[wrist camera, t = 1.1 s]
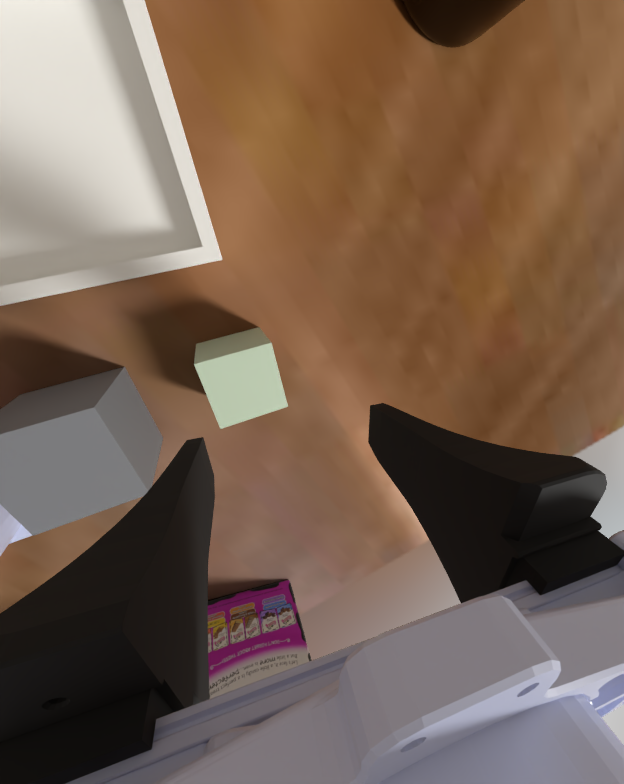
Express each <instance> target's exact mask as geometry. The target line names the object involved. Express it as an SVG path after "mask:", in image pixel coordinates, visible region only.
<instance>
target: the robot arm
mask: <svg viewBox="0 0 624 784" xmlns="http://www.w3.org/2000/svg"><path fill="white" fill-rule="evenodd" d="M368 442H369V444H370V446H371V448H372V450H373V452H374V454H375V456H376V458H377V460H378V461H379V463H380V464H381V466H382V467H383V468H384V470H385V471H386V473H387V474H388V475H389V477H390V478H391V480H392V481H393V482H394V484H395V485H396V486H397V488H398V489H399V491H400V492H401V493H402V495H403V496H404V497H405V499H406V500H407V502H408V503H409V505H410V506H411V508H412V509H413V511H414V513H415V515H416V516H417V518H418V520H419V522H420V523H421V525H422V527H423V529H424V530H425V532H426V534H427V536H428V538H429V540H430V541H431V543H432V545H433V547H434V549H435V551H436V553H437V555H438V557H439V558H440V561H441V562H442V564H443V566H444V568H445V570H446V572H447V574H448V576H449V578H450V581H451V583H452V585H453V587H454V589H455V591H456V593H457V595H458V598H459V600H460V602H461V604H458V605H456V606H453V607H450V608H448V609H445V610H442V611H440V612H437V613H434V614H432V615H429V616H426V617H424V618H421V619H418V620H416V621H413V622H410V623H408V624H405V625H402V626H400V627H397V628H395V629H392V630H389V631H386V632H384V633H382V634H380V635H378V636H376V637H373V638H371V639H368V640H365V641H363V642H360V643H357V644H355V645H352V646H349V647H347V648H344V649H341V650H339V651H336V652H333V653H331V654H328V655H326V656H323V657H320V658H317V659H315V660H312V661H309V662H307V663H304V664H301V665H299V666H296V667H293V668H291V669H288V670H285V671H283V672H280V673H277V674H275V675H272V676H269V677H267V678H264V679H262V680H259V681H256V682H254V683H251V684H248V685H246V686H243V687H240V688H238V689H235V690H232V691H230V692H227V693H224V694H222V695H219V696H216V697H214V698H211V699H210V694H209V663H208V557H209V546H210V537H211V528H212V519H213V510H214V500H215V492H214V474H213V470H212V467H211V463H210V460H209V456H208V453H207V449H206V446H205V442H204V439H203V437H202V438H196V439H191V440H187V441H186V442H185V443H184V445H183V446H182V448H181V449H180V450H179V452H178V453H177V455H176V456H175V457H174V459H173V460H172V461H171V463H170V464H169V466H168V467H167V468H166V470H165V471H164V472H163V473H162V475H161V476H160V477H159V479H158V480H157V481H156V482H155V484H154V485H153V486H152V487H151V488H150V490H149V491H148V492H147V493H146V494H145V495H144V497H143V498H142V499H141V500H140V501H139V502H138V503H137V504H136V505H135V506H134V507H133V508H132V509H131V510H130V511H129V512H128V513H127V514H126V515H125V516H124V517H123V518H122V519H121V520H120V521H119V522H118V523H117V524H116V525H115V526H114V527H113V528H112V529H110V530H109V531H108V532H107V533H106V534H105V535H104V536H103V537H101V538H100V539H99V540H98V541H97V542H96V543H95V544H94V545H92V546H91V547H90V548H89V549H88V550H86V551H85V552H84V553H83V554H81V555H80V556H79V557H78V558H77V559H75V560H74V561H73V562H72V563H70V564H69V565H68V566H66V567H65V568H64V569H62V570H61V571H60V572H59V573H57V574H56V575H55V576H53V577H52V578H51V579H49V580H48V581H46V582H45V583H44V584H42V585H41V586H40V587H38V588H37V589H35V590H34V591H32V592H31V593H30V594H28V595H27V596H25V597H24V598H22V599H21V600H20V601H18V602H17V603H15V604H14V605H12V606H11V607H9V608H8V609H7V610H5V611H4V612H2V613H1V614H0V784H624V745H623V744H622V743H621V741H620V740H619V739H618V738H617V736H616V735H615V734H614V733H613V731H612V730H611V729H610V728H609V726H608V725H607V724H606V723H605V722H604V720H603V719H602V718H601V717H603V716H605V715H607V714H608V713H610V712H612V711H613V710H615V709H616V708H618V707H620V706H622V705H624V530H623V531H620V532H618V533H616V534H614V535H613V536H611V537H610V538H609V539H608V538H607V537H605V536H604V535H603V534H601V533H600V532H599V531H598V530H600V529H601V524H600V523H598V522H597V521H596V520H594V519H593V518H592V517H590V516H591V514H592V513H593V511H594V509H595V508H596V506H597V504H598V503H599V501H600V499H601V497H602V496H603V494H604V492H605V489H606V485H607V481H606V477H605V474H604V473H602V472H601V471H600V470H598V469H596V468H595V467H593V466H591V465H589V464H588V463H586V462H584V461H583V460H581V459H579V458H577V457H572V456H563V455H555V454H546V453H538V452H532V451H526V450H521V449H515V448H510V447H505V446H500V445H496V444H492V443H488V442H484V441H480V440H476V439H473V438H470V437H466V436H463V435H460V434H457V433H454V432H451V431H448V430H446V429H443V428H440V427H438V426H435V425H433V424H430V423H428V422H425V421H423V420H421V419H419V418H416V417H414V416H412V415H410V414H407V413H405V412H403V411H401V410H398V409H396V408H394V407H392V406H389V405H387V404H384V403H381V404H376V405H370V422H369V441H368ZM29 536H32V534H31V533H30V532H29V531H28V530H26V529H25V528H24V527H23V526H22V525H21V524H20V523H19V522H18V521H17V520H16V519H15V518H14V517H13V516H12V515H11V514H10V513H9V512H8V511H7V510H6V509H5V508H4V507H3V506H2V505H1V504H0V556H1V554H2V553H3V551H4V550H5V548H6V547H7V545H8V544H10V543H13V542H15V541H18V540H21V539H24V538H26V537H29Z"/></svg>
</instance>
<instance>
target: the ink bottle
mask: <svg viewBox="0 0 624 784" xmlns="http://www.w3.org/2000/svg"><path fill="white" fill-rule="evenodd" d="M523 1H525V0H403V2H404V4H405V6H406V8H407V10H408V12H409V14H410V16H411V17H412V19H413V20H414V22H415V23H416V25H417V26H418V27H419V28H420V30H421V31H422V32H423V33H424V34H425V35H426V36H427V37H428V38H430V39H431V40H432V41H434V42H435V43H437V44H439V45H442V46H445V47H460V46H463V45H466V44H468V43H470V42H472V41H474V40H475V39H477V38H478V37H480V36H481V35H482V34H484V33H485V32H486V31H487V30H489V29H490V28H491V27H492V26H494V25H495V24H496V23H497V22H499V21H500V20H501V19H502V18H503V17H505V16H506V15H507V14H508V13H510V12H511V11H512V10H513V9H515V8H516V7H517V6H518V5H520V4H521V3H522V2H523Z"/></svg>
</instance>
